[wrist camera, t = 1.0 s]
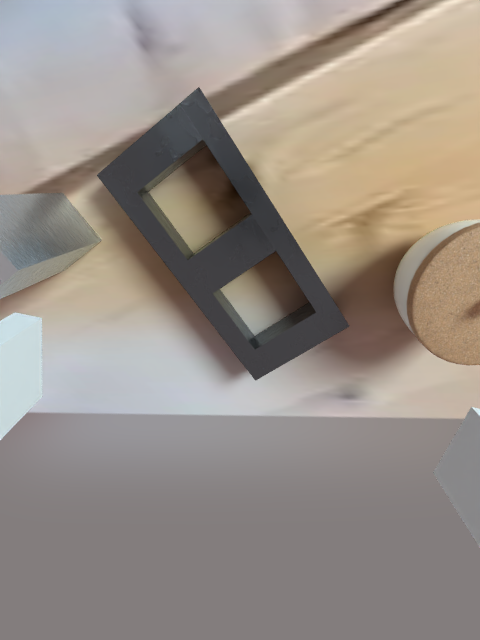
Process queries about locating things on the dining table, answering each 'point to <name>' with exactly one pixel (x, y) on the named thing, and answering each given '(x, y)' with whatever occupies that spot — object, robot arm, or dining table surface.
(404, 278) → the lidded jar
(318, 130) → the dining table surface
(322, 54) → the dining table surface
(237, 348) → the dark grey flat frame
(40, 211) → the solid steel block
